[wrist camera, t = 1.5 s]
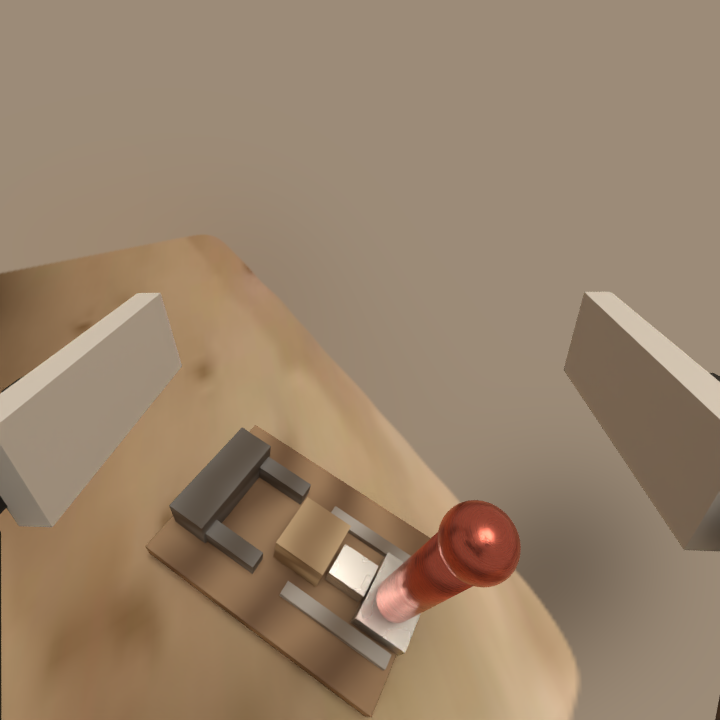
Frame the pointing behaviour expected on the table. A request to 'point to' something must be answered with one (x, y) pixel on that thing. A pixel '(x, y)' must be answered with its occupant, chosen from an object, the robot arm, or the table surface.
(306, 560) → the block
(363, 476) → the table surface
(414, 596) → the press lever
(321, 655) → the press bed
